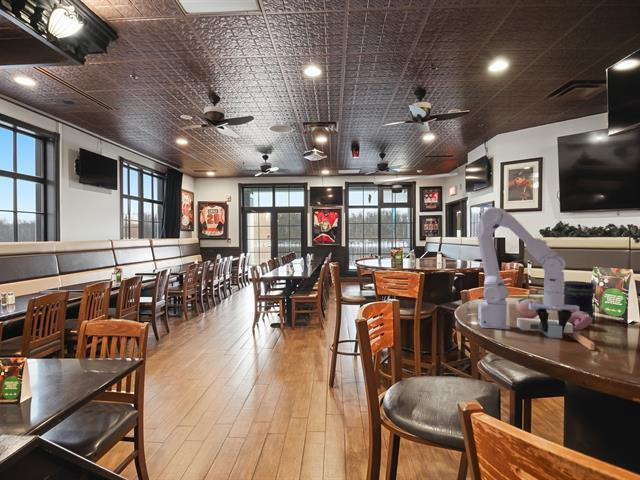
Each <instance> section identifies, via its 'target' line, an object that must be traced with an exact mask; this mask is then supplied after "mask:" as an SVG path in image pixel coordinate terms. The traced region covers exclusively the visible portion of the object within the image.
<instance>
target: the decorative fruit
mask: <svg viewBox="0 0 640 480" xmlns="http://www.w3.org/2000/svg"><path fill="white" fill-rule="evenodd" d="M541 302H542V300H541V299H540V298H538V297H534V296H531V297H530V295H529V294H527V297H519V298H518V299H517V300H516V302H515V309H516V312H517V313H518V314H519V316H520V317H521V318H528V319H536V318H537V317H539V316H538V314H537V312H536V310H530V309H529V303H541Z"/></svg>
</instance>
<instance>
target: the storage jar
mask: <svg viewBox="0 0 640 480" xmlns="http://www.w3.org/2000/svg"><path fill="white" fill-rule="evenodd" d="M594 292H595V291H594V283H593V282H588V281H577V280H564V304H565V305H577V306H579V311H582V312H585V313H587V314H589V315H590V317H592V323H593V322H594V320H593V318H594V307H593V298H594V297H595V296H594ZM570 313H574V312H572V311H570Z"/></svg>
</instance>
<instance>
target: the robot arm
mask: <svg viewBox="0 0 640 480" xmlns="http://www.w3.org/2000/svg"><path fill="white" fill-rule="evenodd" d="M499 227H504V228H507V229H509V230H510V231H511V232H513V233H514V234H515V235H516V237H518V238H519V239H520V240H521V241H523V243H524V244H525V250H526V251H527V252H528V253H529V254H530V255H531V256H532V257H533V258H534V259H535V260H536V262H538V263H539V264H541V266H542V269H543V271H544V277H543V302H540V303H529V309H530V310H536V312H537V314H538V316H537V317H538V319H540V320H541V323H542V327H543V331H544V332H547V331H548V320H549V315H550V313H549V312H548V311H553V312H554V311H556V312H557V318H558V320H559V325H561V326H562V334H564V333H563V332H564V328H565V326H566V323H567V321H568V320H569V318H570V317H571V315H572V313H570V311H572V312H579V306H577V305H565V304H564V301H565V296H564V288H565V287H564V285H565V284H564V281H565V278H564V277H565V273H564V270H565V268H566V265H567V264H566V261H565V259H564V258H563V257H562V256H561V255H558V252H557V251H554V250H553V249H551V247H549V245H548V242H547V241H546V240H544V239H541V238H534V237H533V235H531V233H530V232H529V231H528V230H527V229H526V228H525V227H524V226H523V225H522V223H520V222H519V221H518V220H517V218H515V217H514V216H513V215H512V214H510V213H508V211H507V210H506V209H504V208H499V207H496V206H495V207H494V206H490V207H487V208H485V209H484V210H483V212H482V213H481V214H480V220H479V222H478V225H477V228H476V233H475V234H476V237H477V243H478V248H479V251H480V258H481V262H482V266H483V267H482V268H483V272H484V276H485V277H484V282H483V287H484V290H483V293H482V295H483V297H484V301H479V302H478V307H477V308H478V309H477V311H478V313H477V319H478V320H477V323H478V325H479V326H480V327H481V328H482V329H483V328H487V329H500V330H510V329H511V327H509V326H508V324H507V319H508V318H507V315H508V314H507V313H508V312H507V310H508V304H507V303H508V302H507V300H506V299H507V298H508V296H509V289H508V287H507V285H506V284H505V281H504V279H503V277H502V276H501V273H500V267H499V263H498V257H497V254H496V248H495V244H494V242H495V241H494V239H493V234H494V232H496V230H497V229H498V228H499Z"/></svg>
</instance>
